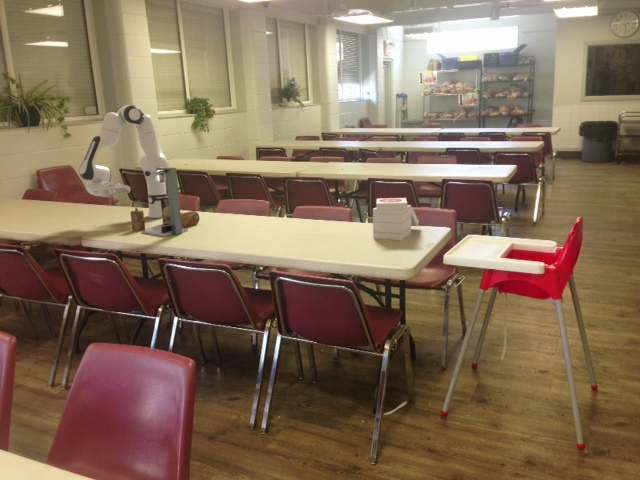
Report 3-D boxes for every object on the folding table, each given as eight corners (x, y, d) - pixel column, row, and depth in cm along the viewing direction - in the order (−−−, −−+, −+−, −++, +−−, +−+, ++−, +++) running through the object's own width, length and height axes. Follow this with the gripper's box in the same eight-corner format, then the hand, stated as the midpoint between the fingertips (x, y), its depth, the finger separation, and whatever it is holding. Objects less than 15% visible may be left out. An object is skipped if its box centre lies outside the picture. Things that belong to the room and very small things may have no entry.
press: (164, 227, 331) (158, 164, 322) (190, 231, 317) (184, 166, 309) (131, 235, 313) (123, 169, 305) (157, 240, 300) (150, 171, 292)
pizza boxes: (422, 228, 304) (422, 194, 299) (403, 241, 278) (403, 204, 273) (388, 226, 312) (387, 193, 308) (367, 238, 286) (366, 203, 282)
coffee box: (162, 224, 338) (159, 198, 334) (166, 222, 344) (163, 196, 340) (177, 224, 337) (174, 197, 333) (181, 222, 343) (178, 195, 340)
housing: (139, 228, 330) (137, 206, 327) (145, 229, 327) (142, 207, 324) (132, 230, 326) (129, 208, 323) (137, 231, 323) (135, 208, 320)
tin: (180, 229, 325) (178, 214, 323) (176, 228, 327) (175, 214, 325) (200, 224, 337) (199, 210, 335) (196, 223, 339) (195, 209, 337)
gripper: (90, 185, 327) (106, 187, 319) (121, 182, 343) (136, 184, 336) (91, 196, 328) (106, 198, 320) (121, 193, 345) (136, 195, 337)
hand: (122, 191), depth 328 cm, fingers open, 8 cm apart
